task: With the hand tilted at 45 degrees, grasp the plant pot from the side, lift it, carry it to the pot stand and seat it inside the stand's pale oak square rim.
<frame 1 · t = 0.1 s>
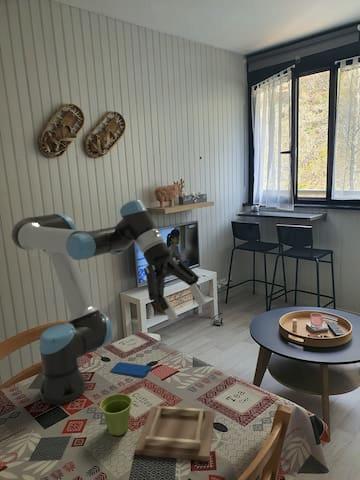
hand: (189, 311, 101), 36 cm above the table, tool tilted 35°, fingers open, 13 cm apart
plant pot: (118, 429, 107), on the table
smartphone: (131, 371, 139), on the table
pot stand: (177, 433, 103), on the table
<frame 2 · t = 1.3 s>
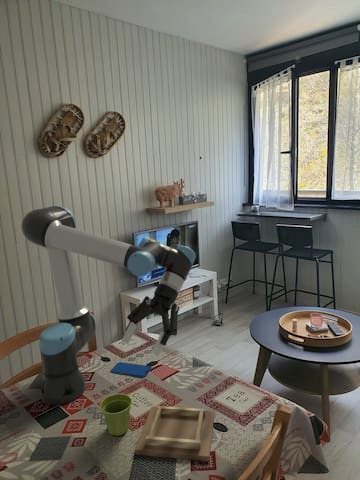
hand: (139, 348, 110), 22 cm above the table, tool tilted 45°, fingers open, 13 cm apart
nothing on the table moved.
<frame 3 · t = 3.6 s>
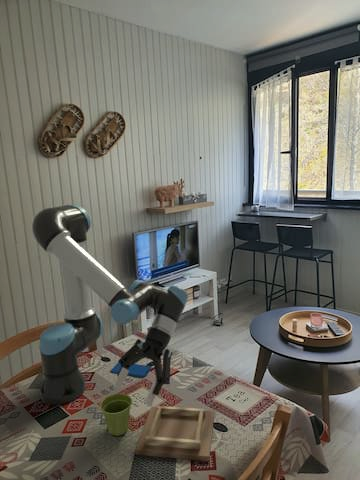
hand: (131, 396, 107), 9 cm above the table, tool tilted 45°, fingers open, 13 cm apart
nothing on the table moved.
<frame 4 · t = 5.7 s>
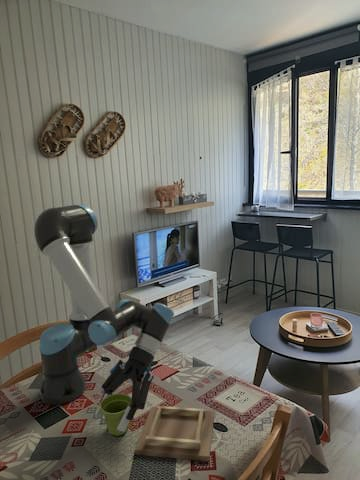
hand: (109, 423, 103), 4 cm above the table, tool tilted 45°, fingers closed on plant pot, 9 cm apart
plant pot: (118, 429, 107), on the table, touching gripper
everything else where it was.
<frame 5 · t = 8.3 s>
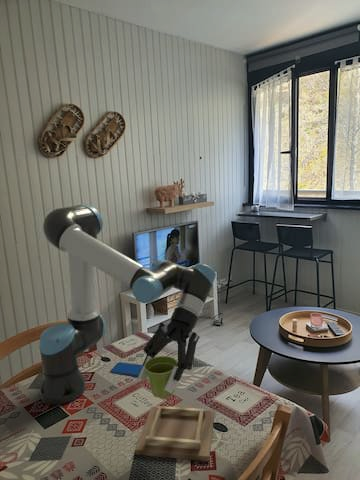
hand: (154, 385, 98), 17 cm above the table, tool tilted 45°, fingers closed on plant pot, 9 cm apart
plant pot: (163, 393, 101), point 13 cm above the table, touching gripper
everything else where it was.
when the fingers open (7 cm above the table, at t = 11.2 s): plant pot drops 1 cm, resting on pot stand.
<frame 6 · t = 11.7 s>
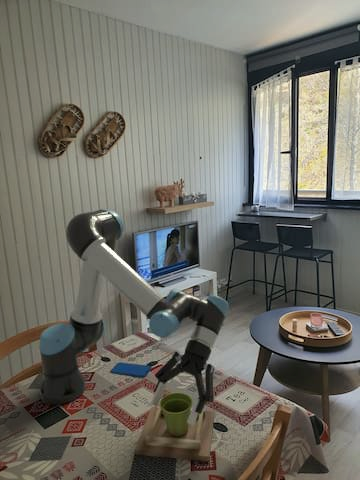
hand: (171, 414, 100), 8 cm above the table, tool tilted 45°, fingers open, 13 cm apart
plant pot: (177, 429, 103), point 1 cm above the table, touching pot stand
everything else where it was.
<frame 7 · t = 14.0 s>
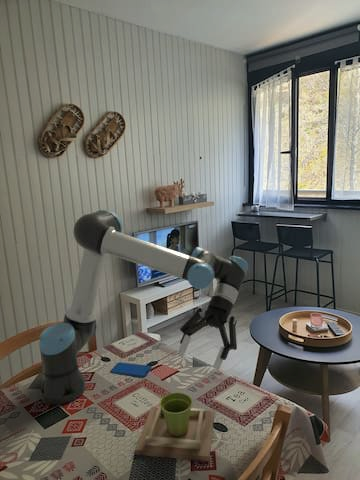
hand: (197, 362, 108), 18 cm above the table, tool tilted 45°, fingers open, 13 cm apart
nothing on the table moved.
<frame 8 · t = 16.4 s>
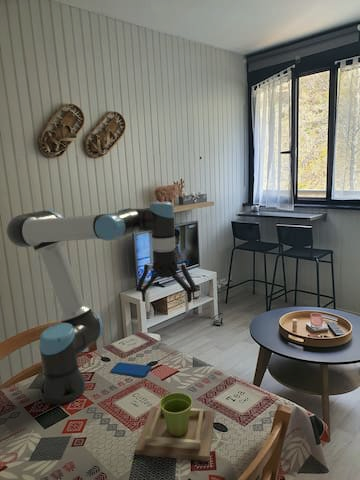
hand: (167, 310, 120), 29 cm above the table, tool pointing down, fingers open, 13 cm apart
nothing on the table moved.
at the end: plant pot 0.1 cm off-centre on the pot stand, point 1.3 cm above the pot stand's base; plant pot tilted 0°; the gripper is holding nothing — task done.
